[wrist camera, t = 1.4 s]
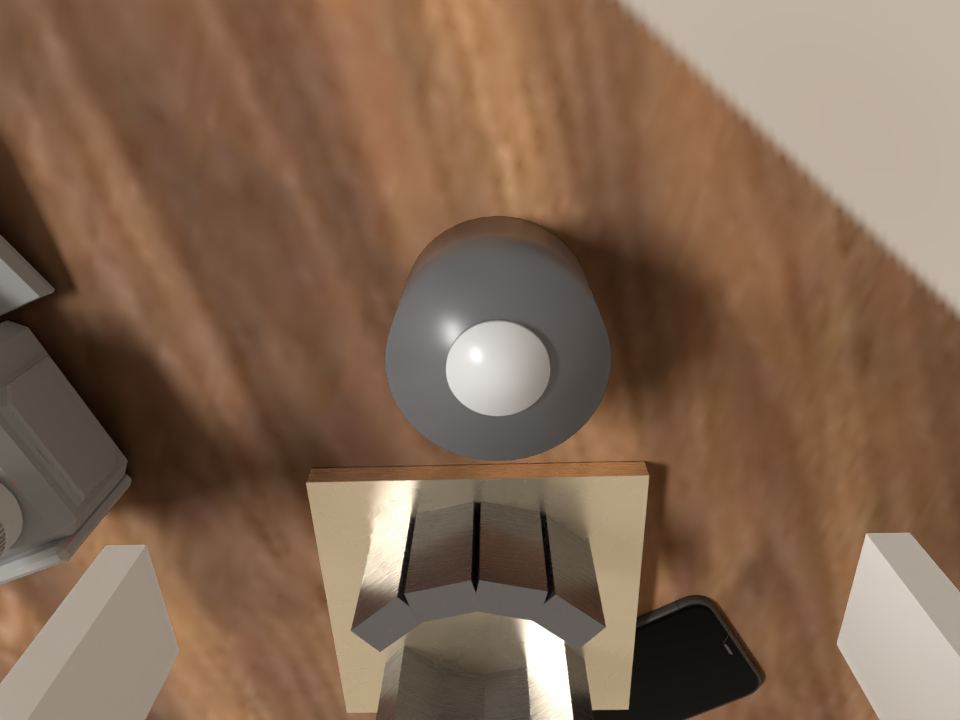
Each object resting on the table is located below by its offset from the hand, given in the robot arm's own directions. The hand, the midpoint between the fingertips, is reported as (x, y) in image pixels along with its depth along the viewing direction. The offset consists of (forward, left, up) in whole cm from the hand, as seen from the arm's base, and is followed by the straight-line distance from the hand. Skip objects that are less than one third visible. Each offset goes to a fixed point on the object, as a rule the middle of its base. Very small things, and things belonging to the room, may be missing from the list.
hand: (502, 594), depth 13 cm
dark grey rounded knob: (0, 0, -14) cm, 14 cm away
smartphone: (+21, +5, -15) cm, 26 cm away
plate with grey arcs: (+14, -1, -14) cm, 20 cm away
